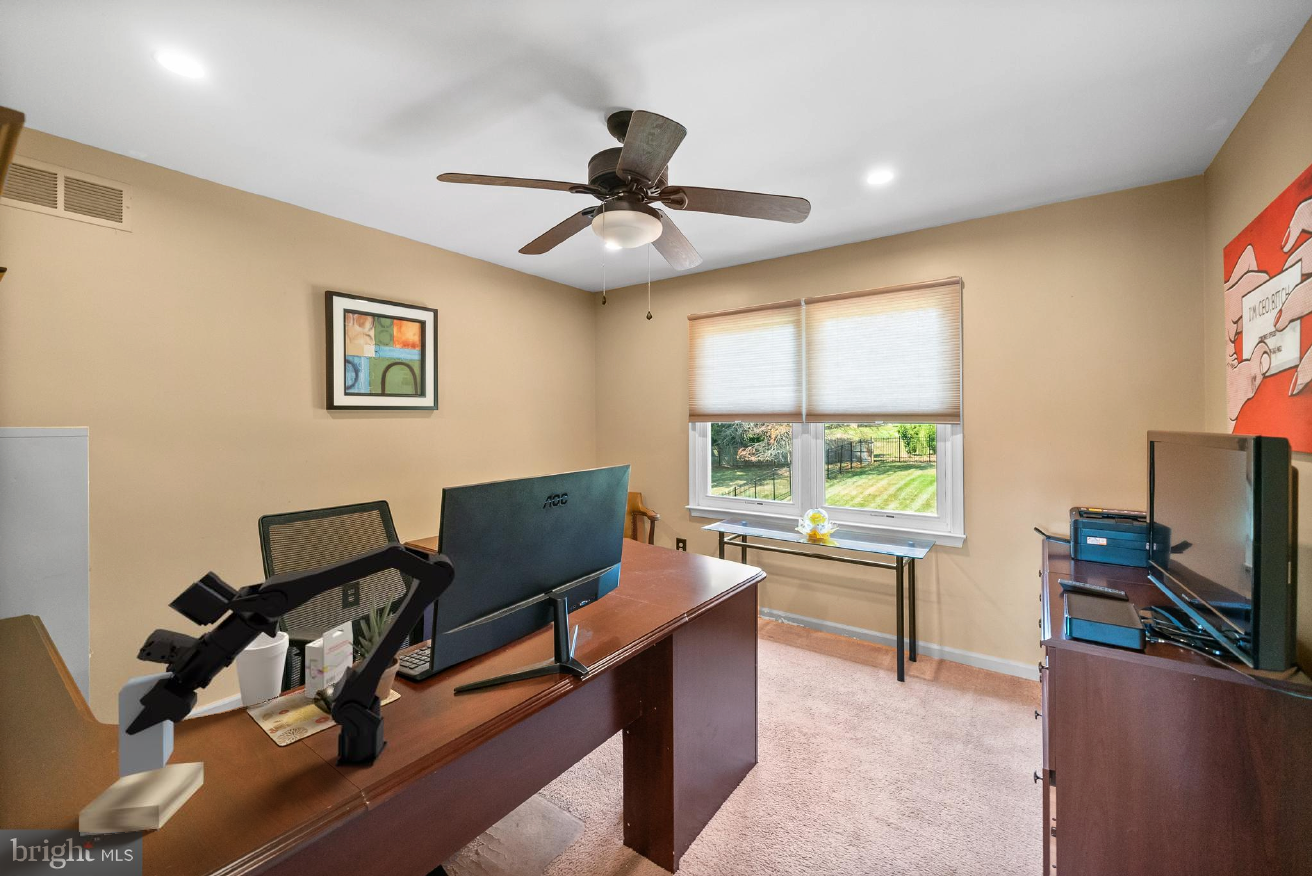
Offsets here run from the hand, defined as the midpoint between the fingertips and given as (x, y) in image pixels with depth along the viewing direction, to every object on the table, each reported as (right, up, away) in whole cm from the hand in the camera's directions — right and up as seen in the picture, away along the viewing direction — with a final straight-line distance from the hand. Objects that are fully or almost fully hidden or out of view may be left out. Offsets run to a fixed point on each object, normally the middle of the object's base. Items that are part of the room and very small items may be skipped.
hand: (135, 723), depth 81 cm
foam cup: (-5, -13, +32) cm, 35 cm away
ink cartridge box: (+7, -13, +37) cm, 40 cm away
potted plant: (+18, -13, +35) cm, 42 cm away
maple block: (+1, -14, +1) cm, 14 cm away
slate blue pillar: (+1, -7, +1) cm, 7 cm away
